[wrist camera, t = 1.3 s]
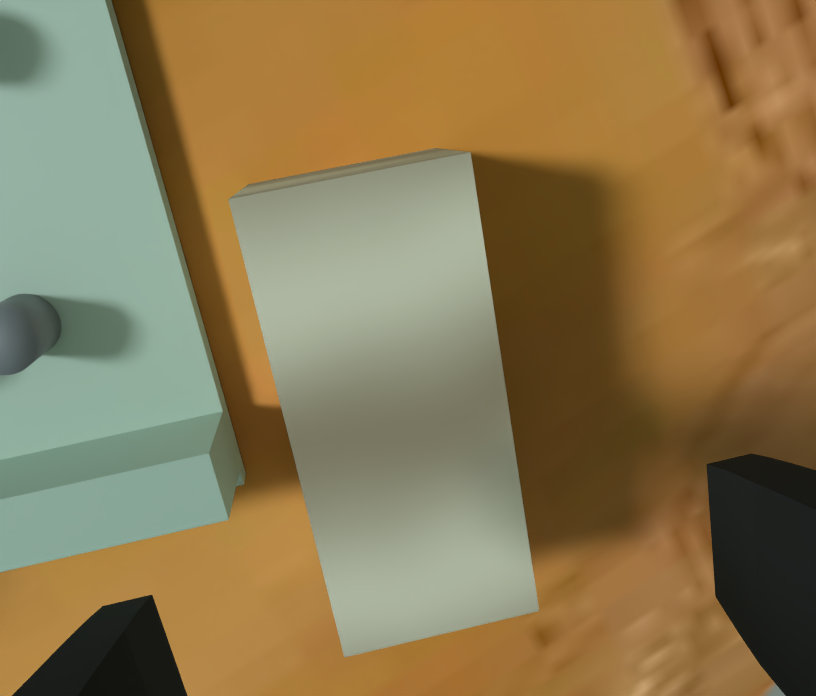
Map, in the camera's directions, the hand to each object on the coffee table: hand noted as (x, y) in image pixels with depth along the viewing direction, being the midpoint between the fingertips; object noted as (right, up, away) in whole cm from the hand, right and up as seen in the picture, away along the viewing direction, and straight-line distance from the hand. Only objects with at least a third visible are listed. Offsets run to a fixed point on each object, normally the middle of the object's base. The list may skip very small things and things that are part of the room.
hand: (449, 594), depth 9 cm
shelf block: (-1, +3, +9) cm, 10 cm away
